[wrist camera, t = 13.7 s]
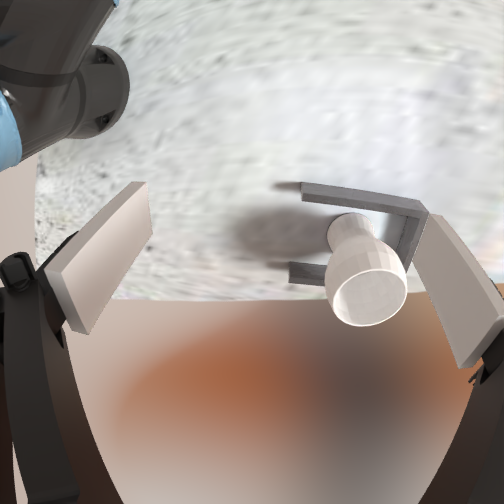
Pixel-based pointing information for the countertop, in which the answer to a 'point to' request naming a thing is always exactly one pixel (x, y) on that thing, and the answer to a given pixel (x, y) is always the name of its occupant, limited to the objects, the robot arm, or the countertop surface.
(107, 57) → the robot arm
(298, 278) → the channel
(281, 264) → the countertop surface
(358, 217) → the cup
